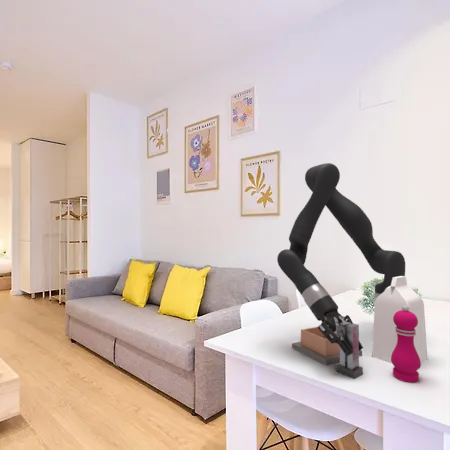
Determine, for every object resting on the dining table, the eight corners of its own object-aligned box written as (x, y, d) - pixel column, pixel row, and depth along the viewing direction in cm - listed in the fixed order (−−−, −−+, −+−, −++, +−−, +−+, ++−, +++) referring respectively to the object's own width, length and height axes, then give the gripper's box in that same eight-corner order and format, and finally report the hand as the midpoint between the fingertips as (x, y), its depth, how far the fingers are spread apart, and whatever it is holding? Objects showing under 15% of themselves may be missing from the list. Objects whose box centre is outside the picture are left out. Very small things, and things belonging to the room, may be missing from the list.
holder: (325, 340, 118) (325, 322, 118) (362, 355, 104) (361, 335, 104) (291, 347, 110) (291, 328, 110) (326, 365, 96) (325, 343, 96)
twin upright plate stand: (344, 367, 94) (344, 320, 95) (362, 374, 90) (362, 325, 90) (336, 371, 92) (336, 323, 92) (354, 378, 87) (354, 327, 87)
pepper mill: (394, 368, 94) (393, 301, 94) (422, 376, 89) (422, 304, 89) (388, 377, 88) (388, 305, 88) (418, 386, 83) (418, 309, 84)
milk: (410, 369, 93) (409, 281, 94) (372, 356, 103) (372, 276, 103) (427, 359, 100) (427, 277, 101) (390, 348, 110) (390, 273, 110)
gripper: (312, 297, 93) (350, 351, 83) (339, 291, 101) (377, 339, 92) (297, 311, 97) (332, 365, 87) (325, 305, 106) (360, 352, 96)
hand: (355, 351), depth 89 cm, fingers open, 4 cm apart
